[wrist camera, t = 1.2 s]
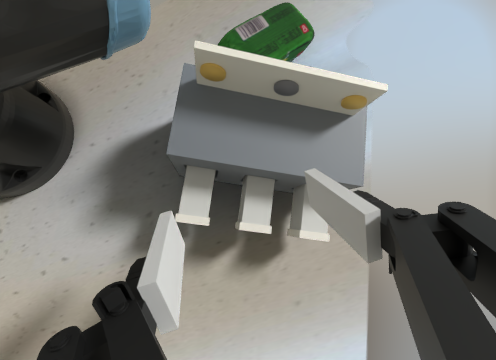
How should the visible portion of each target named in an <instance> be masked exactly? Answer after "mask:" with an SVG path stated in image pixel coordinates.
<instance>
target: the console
mask: <svg viewBox="0 0 496 360" xmlns="http://www.w3.org/2000/svg"><path fill="white" fill-rule="evenodd" d="M366 120H367V106H366V107H365V108H363V109H362V110H360V111H359V112H358V113H356V114H355V115H348V114H343V113H338V112H333V111H329V110H324V109H319V108H314V107H309V106H304V105H299V104H294V103H290V102H285V101H280V100H275V99H270V98H265V97H260V96H255V95H251V94H246V93H241V92H236V91H231V90H226V89H221V88H217V87H212V86H207V85H202V84H197V79H196V66H195V65H191V64H186V63H184V66H183V71H182V76H181V81H180V86H179V91H178V96H177V101H176V107H175V112H174V117H173V122H172V127H171V132H170V137H169V142H168V147H167V152H166V154H167V156H168V157H169V159H170V161H171V162H172V164H173V165H174V167H175V169H176V170H177V172H178V173H179V175H180V176H185V174H186V168H187V165H189V166H195V167H201V168H208V169H214V170H216V171H215V177H214V181H218V182H225V183H231V184H238V185H243V178H244V176H245V175H251V176H258V177H264V178H270V179H275V183H274V190H277V191H283V192H290V193H293V190H294V187H297V186H300V185H302V184H306V179H305V172H304V171H307V170H310V169H313V168H315V169H317V170H318V171H320V172H322V173H323V174H325V175H326V176H328V177H330V178H331V179H333V180H334V181H336V182H338V183H339V184H341V185H342V186H344V187H346V188H347V189H353V188H358V187H363V183H364V162H365V141H366Z"/></svg>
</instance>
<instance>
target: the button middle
mask: <svg viewBox="0 0 496 360" xmlns="http://www.w3.org/2000/svg"><path fill="white" fill-rule="evenodd" d="M274 183H275V179H270V178H264V177H258V176H251V175H245V176H244V178H243V185H242V192H241V200H240V207H239V214H238V222H236V223H235V229H238V230H244V231H251V232H259V233H267V234H271V230H272V226H270V218H271V209H272V200H273V192H274Z"/></svg>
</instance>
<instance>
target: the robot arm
mask: <svg viewBox="0 0 496 360" xmlns="http://www.w3.org/2000/svg"><path fill="white" fill-rule="evenodd" d="M150 19H151V9H150V0H0V198H8V197H14V196H18V195H21V194H25V193H27V192H30V191H32V190H34V189H36V188H38V187H40V186H41V185H43V184H44V183H46V182H47V181H49V180H50V179H51V178H52V177H53V176H54V175H55V174H56V173H57V172H58V171H59V170H60V169H61V168H62V166H63V165H64V163H65V162H66V160H67V158H68V156H69V154H70V151H71V148H72V145H73V139H74V128H73V122H72V118H71V115H70V113H69V111H68V109H67V107H66V106H65V104H64V103H63V102H62V100H61V99H60V98H59V97H58V96H57V95H56V94H54V93H53V92H52V91H51V90H50V89H48V88H47V87H46V86H45V85H43V84H42V83H41V82H39V81H37V80H39V79H41V78H44V77H47V76H50V75H53V74H56V73H58V72H61V71H64V70H67V69H70V68H73V67H75V66H78V65H81V64H84V63H87V62H90V61H92V60H95V59H98V58H101V59H102V60H105V59H108V58H110V57H111V56H112V54H113V53H115V52H118V51H120V50H123V49H125V48H127V47H130V46H132V45H135V44H137V43H139V42H140V41H142V40H143V39H144V37H145V35H146V33H147V31H148V29H149V26H150ZM304 172H305V179H306V185H307V191H308V198H309V204H310V207H311V208H312V209H313V210H314V211H315V212H316V213H317V214H318V215H319V216H320V217H322V218H323V219H324V220H325V221H326V222H327V223H328V224H329V225H330V226H331V227H332V228H333V229H334V230H335V231H336V232H337V233H338V234H339V235H340V236H341V237H342V238H343V239H344V240H345V241H346V242H347V243H348V244H349V245H350V246H351V247H352V248H353V249H354V250H355V251H356V252H357V253H358V254H359V255H360V256H361V257H362V258H363V259H364V260H365V261H366V262H367V263H371V262H374V261H377V260H380V259H382V249H384V250H385V251H386V252H387V253H388V254H389V273H390V274H392V272H393V275H394V279H395V282H396V285H397V288H398V291H399V294H400V297H401V300H402V303H403V306H404V309H405V312H406V315H407V319H408V321H409V325H410V328H411V331H412V334H413V337H414V340H415V343H416V346H417V349H418V352H419V356H420V358H421V360H496V333H495V331H494V329H493V328H492V326H491V325H490V323H489V321H488V320H487V319H486V317H485V315H484V314H483V312H482V310H481V309H480V307H479V306H478V304H477V302H476V301H475V299H474V298H473V296H472V295H471V293H472V294H473V295H474V296H475V297H476V298H477V299H478V300H479V301H480V302H481V303H482V304H483V305H484V306H485V307H486V308H487V309H488V310H489V311H490V312H491V313H492V314H493V315H494V316H495V317H496V220H495V219H494V218H492V217H490V216H488V215H487V214H485V213H483V212H481V211H480V210H478V209H477V208H475V207H473V206H471V205H469V204H465V203H461V202H446V203H443V204H440V205H439V206H438V213H437V214H428V215H421V214H420V213H418V212H417V211H415V210H412V209H408V208H397V209H394V208H393V207H391V206H389V205H388V204H386V203H384V202H383V201H381V200H379V199H377V198H376V197H373V196H372V195H370V194H369V193H367V192H363V191H359V190H357V191H354V192H352V191H350V190H349V189H347V188H346V187H344V186H342V185H341V184H339V183H338V182H336V181H334V180H333V179H331V178H330V177H328V176H326V175H325V174H323V173H322V172H320V171H318V170H317V169H315V168H313V169H310V170H307V171H304ZM473 248H474V250H475V251H476V252H475V251H473ZM184 252H185V243H184V241H183V238H182V236H181V233H180V230H179V228H178V225H177V223H176V220H175V218H174V215H173V213H172V210H171V211H168V212H164V213H161V214H160V215H159V218H158V222H157V225H156V228H155V231H154V235H153V238H152V241H151V244H150V247H149V251H148V254H147V257H144V258H141V259H137V260H136V261H135V263H134V264H133V265H132V266H131V268H130V270H129V273H128V276H127V278H126V282H125V281H119V282H114V283H112V284H110V285H108V286H106V287H105V288H104V289H102V290H101V291H100V292H99V293H98V294H97V295H96V296H95V298H94V299H93V303H92V305H93V307H94V309H95V310H96V312H97V313H98V315H99V317H100V318H101V320H102V321H100V322H99V323H97V324H95V325H94V326H92V327H90V328H88V329H87V330H85V331H83V332H81V330H80V329H79V328H78V327H77V326H71V327H68V328H65V329H63V330H61V331H60V332H58V333H56V334H55V335H54V336H52V337H51V338H50V339H49V340H48V341H47V342H46V344H45V345H44V346H43V347H42V349H41V351H40V353H39V355H38V358H37V360H167V359H166V356H165V354H164V352H163V350H162V348H161V346H160V344H159V342H158V340H157V338H156V336H155V332H156V327H157V328H158V330H159V331H160V333H161V335H162V334H165V333H168V332H171V331H173V330H176V329H178V326H179V314H180V301H181V289H182V277H183V264H184ZM470 292H471V293H470Z"/></svg>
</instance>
